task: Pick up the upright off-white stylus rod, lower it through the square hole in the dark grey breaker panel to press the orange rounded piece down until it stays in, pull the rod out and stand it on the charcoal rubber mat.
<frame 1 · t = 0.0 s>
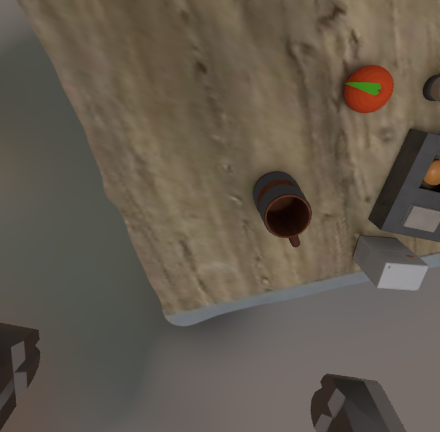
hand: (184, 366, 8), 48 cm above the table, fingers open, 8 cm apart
small box: (373, 247, 62), on the table
clementine: (355, 88, 50), on the table
orange rounded piece: (434, 172, 53), point 3 cm above the table, slide at 0.0 cm
mug: (277, 199, 58), on the table
stylus: (435, 87, 50), on the table
panel: (416, 183, 56), on the table
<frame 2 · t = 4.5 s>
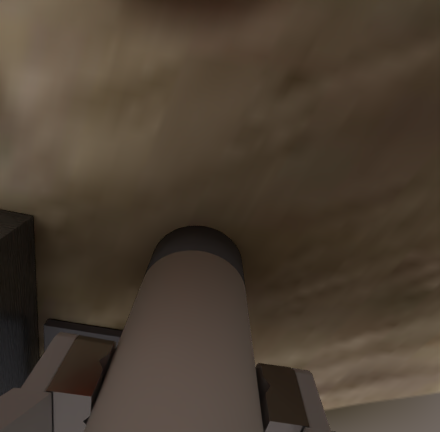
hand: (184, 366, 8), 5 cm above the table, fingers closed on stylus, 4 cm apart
stylus: (197, 266, 13), on the table, touching gripper
mat: (115, 378, 16), on the table
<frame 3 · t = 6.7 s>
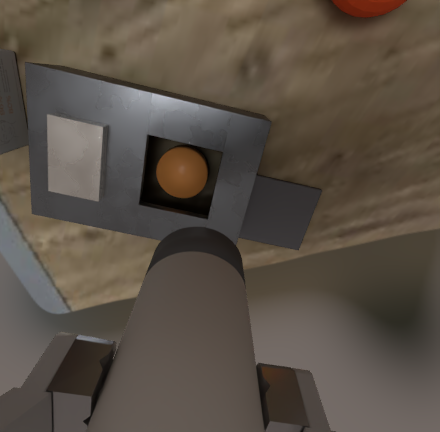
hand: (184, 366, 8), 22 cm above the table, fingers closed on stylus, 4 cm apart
orange rounded piece: (183, 171, 26), point 3 cm above the table, slide at 0.0 cm
stylus: (197, 267, 13), point 17 cm above the table, touching gripper
panel: (156, 156, 28), on the table
mat: (276, 213, 31), on the table
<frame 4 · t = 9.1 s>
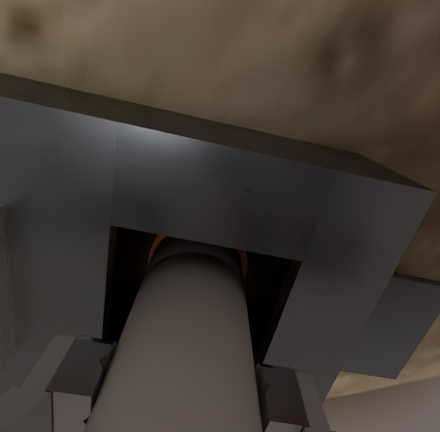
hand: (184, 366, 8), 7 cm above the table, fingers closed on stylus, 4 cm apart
orange rounded piece: (199, 257, 14), point 1 cm above the table, slide at 1.7 cm, touching stylus
stylus: (196, 267, 13), point 2 cm above the table, touching orange rounded piece, gripper
panel: (140, 234, 15), on the table
mat: (362, 322, 17), on the table
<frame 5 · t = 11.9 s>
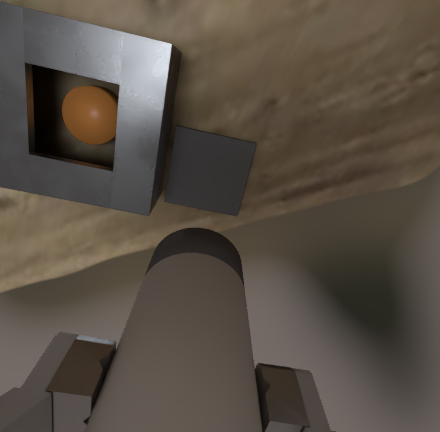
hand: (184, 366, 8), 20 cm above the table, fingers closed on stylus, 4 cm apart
orange rounded piece: (94, 115, 24), point 1 cm above the table, slide at 1.7 cm
stylus: (196, 268, 13), point 15 cm above the table, touching gripper
panel: (62, 106, 25), on the table
mat: (208, 172, 27), on the table
when the fingers open (7 cm above the table, at t = 14.6 s): stylus drops 1 cm, resting on mat.
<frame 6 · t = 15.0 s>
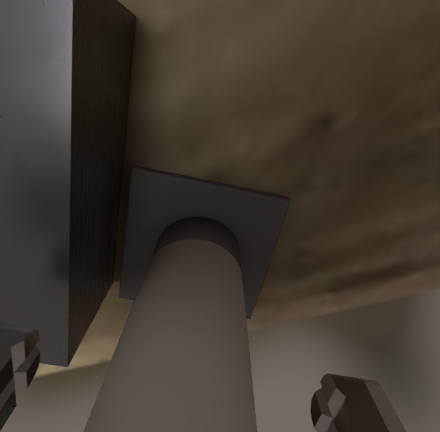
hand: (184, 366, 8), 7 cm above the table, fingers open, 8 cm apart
stylus: (198, 254, 14), resting on mat
mat: (198, 248, 15), on the table
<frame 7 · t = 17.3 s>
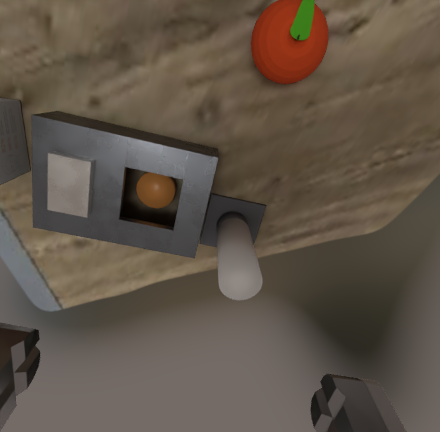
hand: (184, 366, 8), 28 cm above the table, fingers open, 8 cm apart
small box: (2, 134, 33), on the table
clementine: (281, 42, 30), on the table
orange rounded piece: (156, 188, 35), point 1 cm above the table, slide at 1.7 cm
stylus: (232, 225, 38), resting on mat
panel: (133, 180, 36), on the table
mat: (231, 224, 38), on the table
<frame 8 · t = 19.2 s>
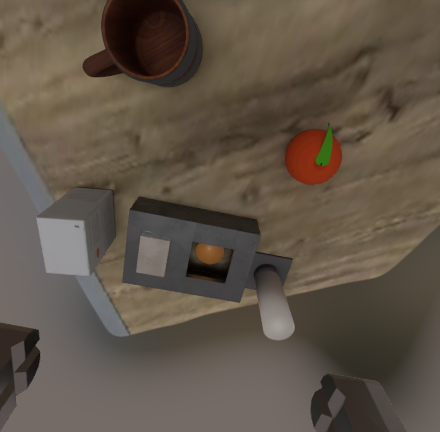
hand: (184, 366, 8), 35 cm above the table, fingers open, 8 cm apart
small box: (97, 212, 45), on the table
clementine: (306, 147, 41), on the table
orange rounded piece: (210, 249, 46), point 1 cm above the table, slide at 1.7 cm
mug: (155, 54, 36), on the table
stylus: (265, 274, 49), resting on mat
panel: (191, 242, 47), on the table
mat: (265, 272, 49), on the table
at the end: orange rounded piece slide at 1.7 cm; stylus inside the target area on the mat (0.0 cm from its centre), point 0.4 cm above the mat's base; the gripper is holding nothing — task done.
